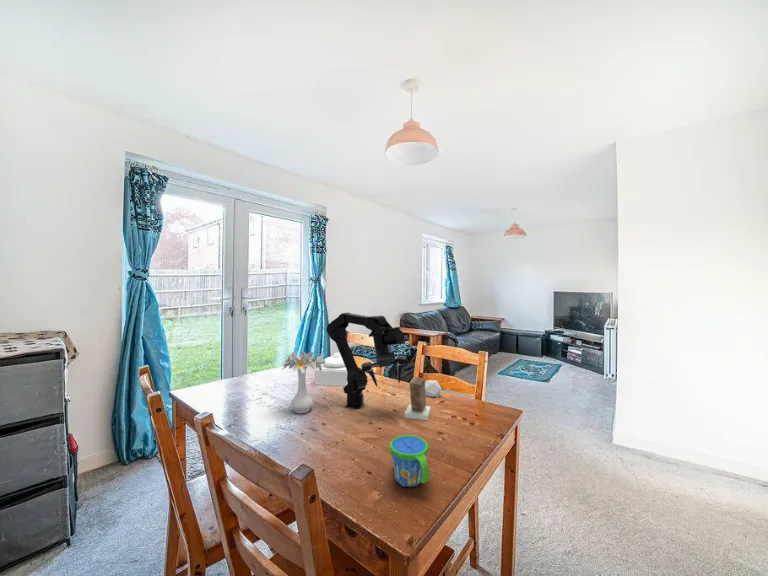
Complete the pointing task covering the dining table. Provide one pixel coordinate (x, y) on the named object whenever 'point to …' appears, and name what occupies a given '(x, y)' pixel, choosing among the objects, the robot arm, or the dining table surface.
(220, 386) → the dining table surface
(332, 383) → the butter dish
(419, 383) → the pillar
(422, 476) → the snack cup
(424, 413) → the top slab
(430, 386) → the die
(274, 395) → the dining table surface
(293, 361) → the flower vase
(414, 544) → the dining table surface
